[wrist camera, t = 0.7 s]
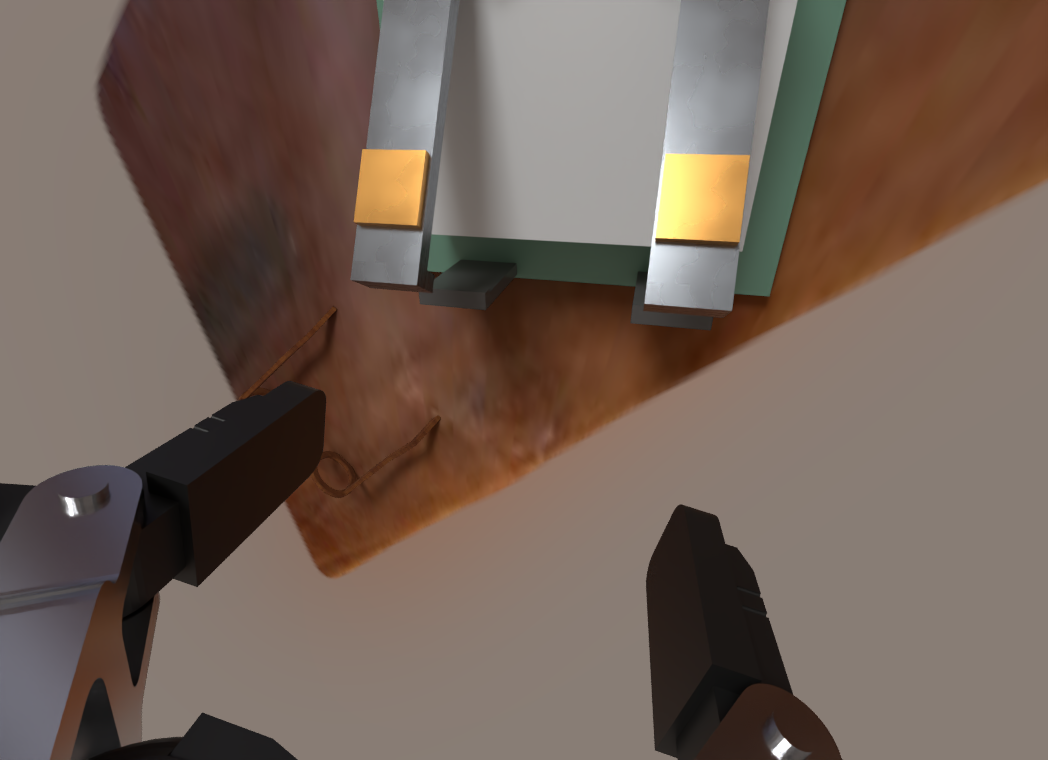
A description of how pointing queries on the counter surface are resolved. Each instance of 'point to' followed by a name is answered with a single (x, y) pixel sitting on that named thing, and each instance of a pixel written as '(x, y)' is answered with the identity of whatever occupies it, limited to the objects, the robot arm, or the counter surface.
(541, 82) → the base
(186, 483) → the robot arm
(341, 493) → the glasses
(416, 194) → the strap
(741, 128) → the strap
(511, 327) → the counter surface
